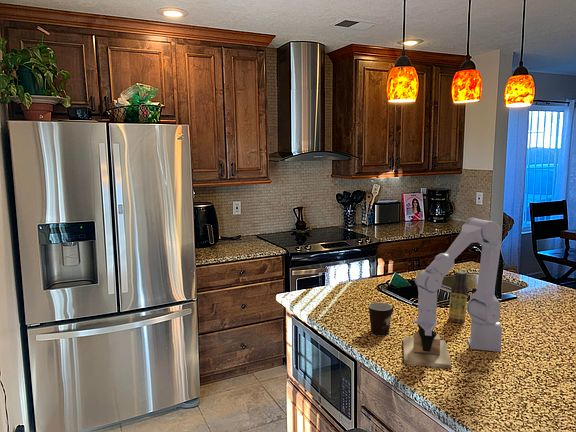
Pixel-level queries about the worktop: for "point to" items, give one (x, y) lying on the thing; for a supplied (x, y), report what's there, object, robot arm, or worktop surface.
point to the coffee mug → (380, 318)
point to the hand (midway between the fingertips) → (426, 347)
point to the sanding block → (419, 349)
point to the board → (425, 355)
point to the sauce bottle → (458, 298)
